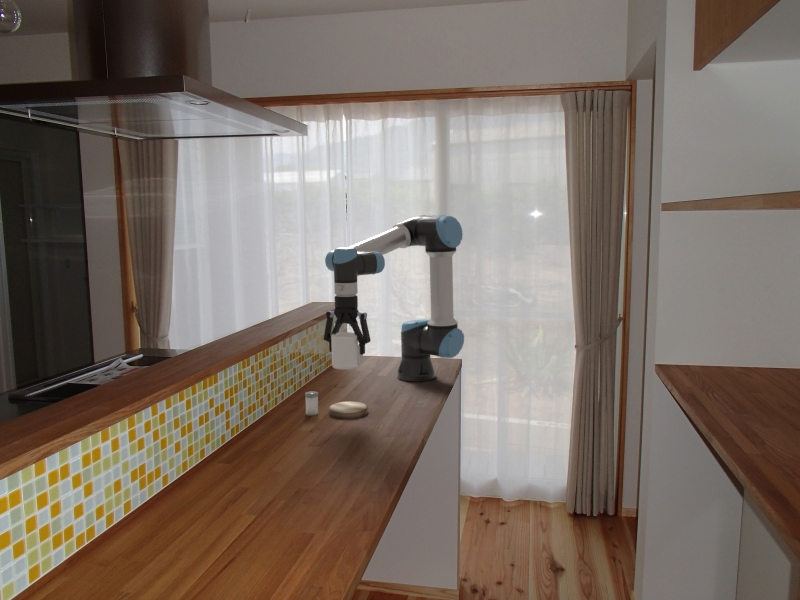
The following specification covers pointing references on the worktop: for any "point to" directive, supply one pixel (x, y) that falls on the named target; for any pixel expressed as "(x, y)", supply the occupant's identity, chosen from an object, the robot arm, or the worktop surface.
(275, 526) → the worktop surface
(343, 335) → the mug
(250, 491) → the worktop surface
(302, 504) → the worktop surface
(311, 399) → the spice jar
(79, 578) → the worktop surface
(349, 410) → the beige flat disc
